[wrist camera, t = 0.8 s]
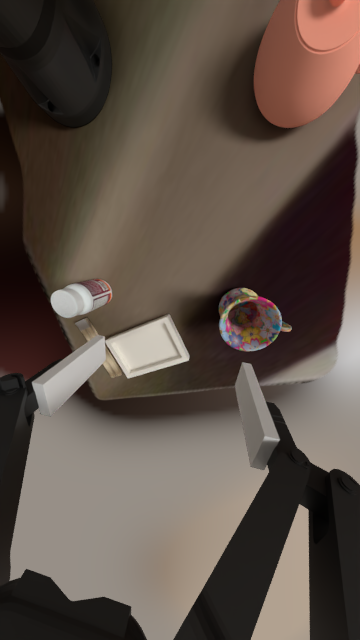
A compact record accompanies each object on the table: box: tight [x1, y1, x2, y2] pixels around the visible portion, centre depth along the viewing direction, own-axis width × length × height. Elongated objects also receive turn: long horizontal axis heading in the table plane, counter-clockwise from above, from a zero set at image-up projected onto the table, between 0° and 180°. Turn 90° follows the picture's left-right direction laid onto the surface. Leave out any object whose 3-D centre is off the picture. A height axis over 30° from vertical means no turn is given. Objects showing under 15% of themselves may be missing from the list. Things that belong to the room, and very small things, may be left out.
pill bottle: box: [51, 279, 112, 318], centre depth 35 cm, size 6×6×11 cm
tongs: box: [75, 317, 122, 378], centre depth 46 cm, size 18×3×1 cm, turn 25°
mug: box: [219, 288, 292, 351], centre depth 31 cm, size 12×9×11 cm
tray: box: [105, 314, 190, 378], centre depth 43 cm, size 12×18×2 cm, turn 115°
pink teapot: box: [254, 0, 360, 128], centre depth 19 cm, size 12×14×10 cm
